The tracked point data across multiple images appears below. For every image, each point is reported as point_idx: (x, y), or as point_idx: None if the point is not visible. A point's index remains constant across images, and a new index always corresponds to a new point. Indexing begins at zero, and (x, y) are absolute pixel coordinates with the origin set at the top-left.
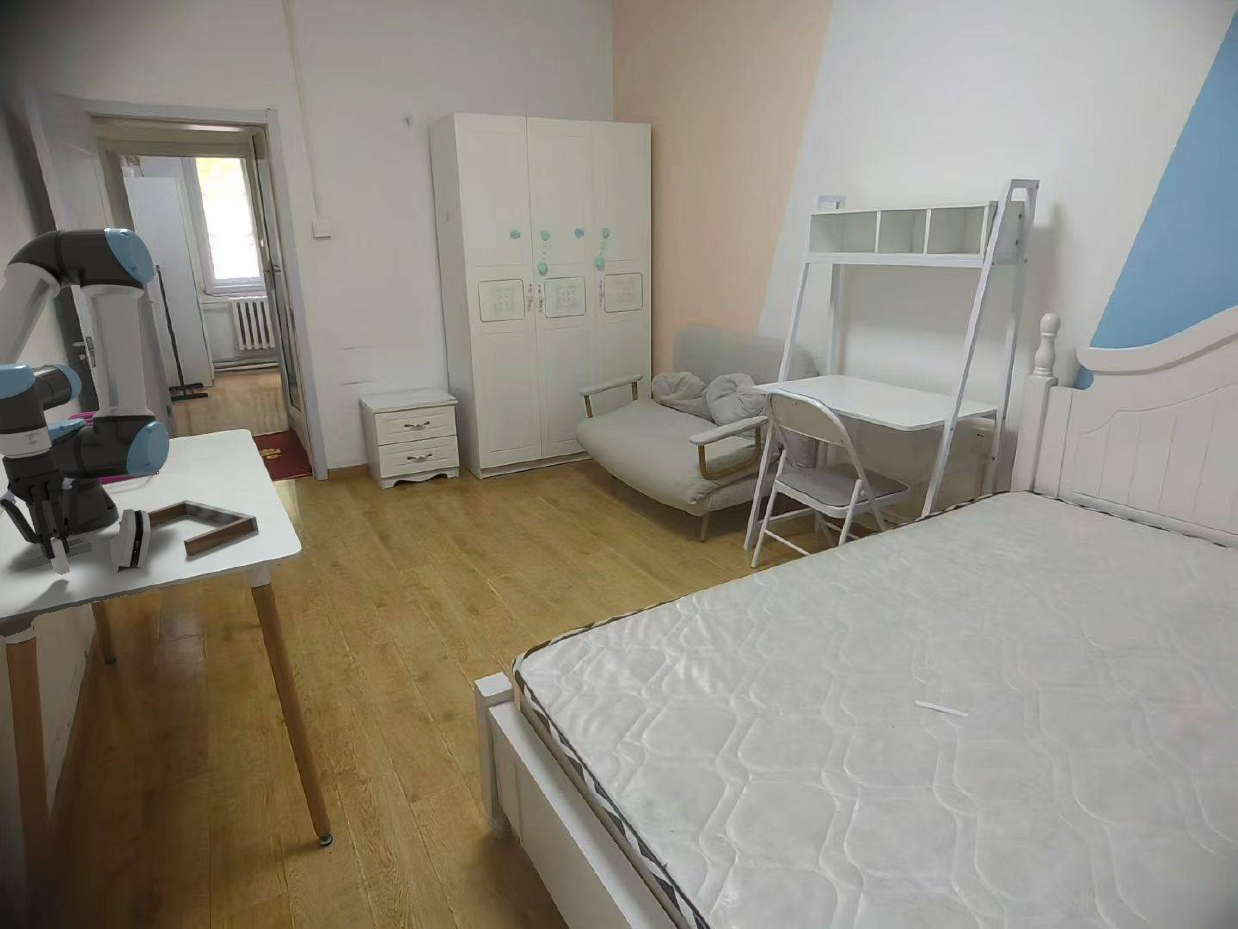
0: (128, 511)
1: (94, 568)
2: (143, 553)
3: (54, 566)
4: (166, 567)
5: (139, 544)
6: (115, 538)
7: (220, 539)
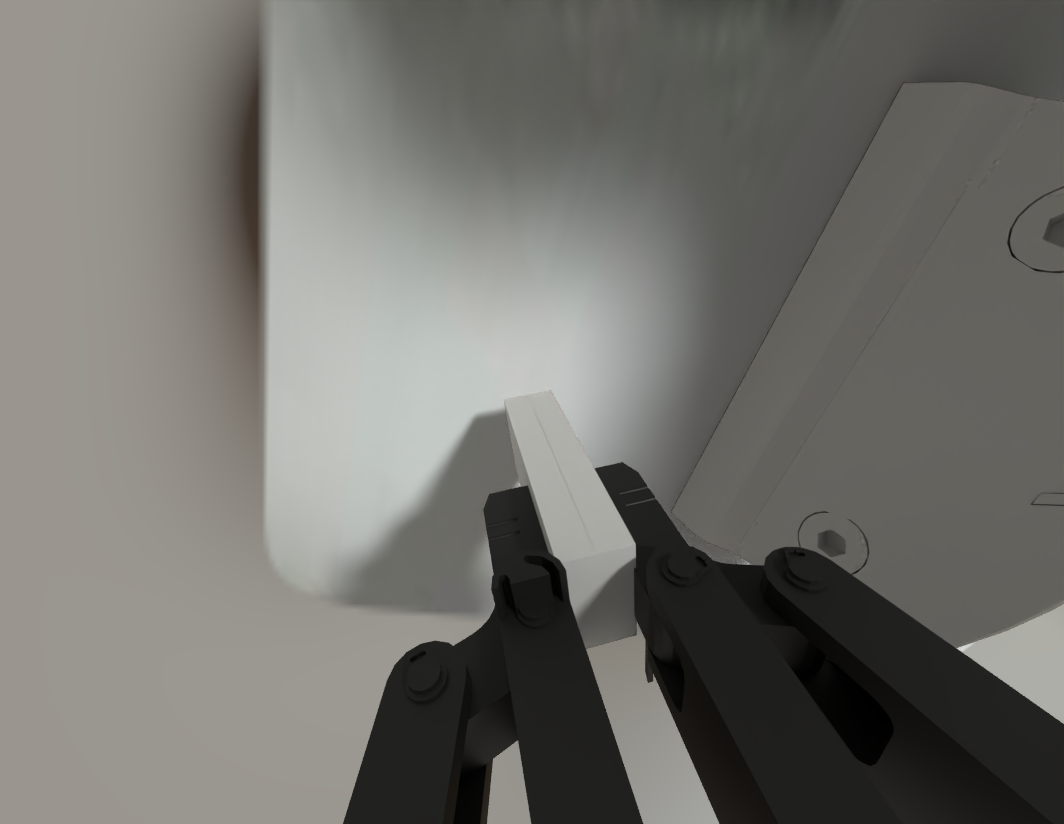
0: None
1: (662, 392)
2: None
3: (514, 443)
4: None
5: None
6: (973, 146)
7: None
